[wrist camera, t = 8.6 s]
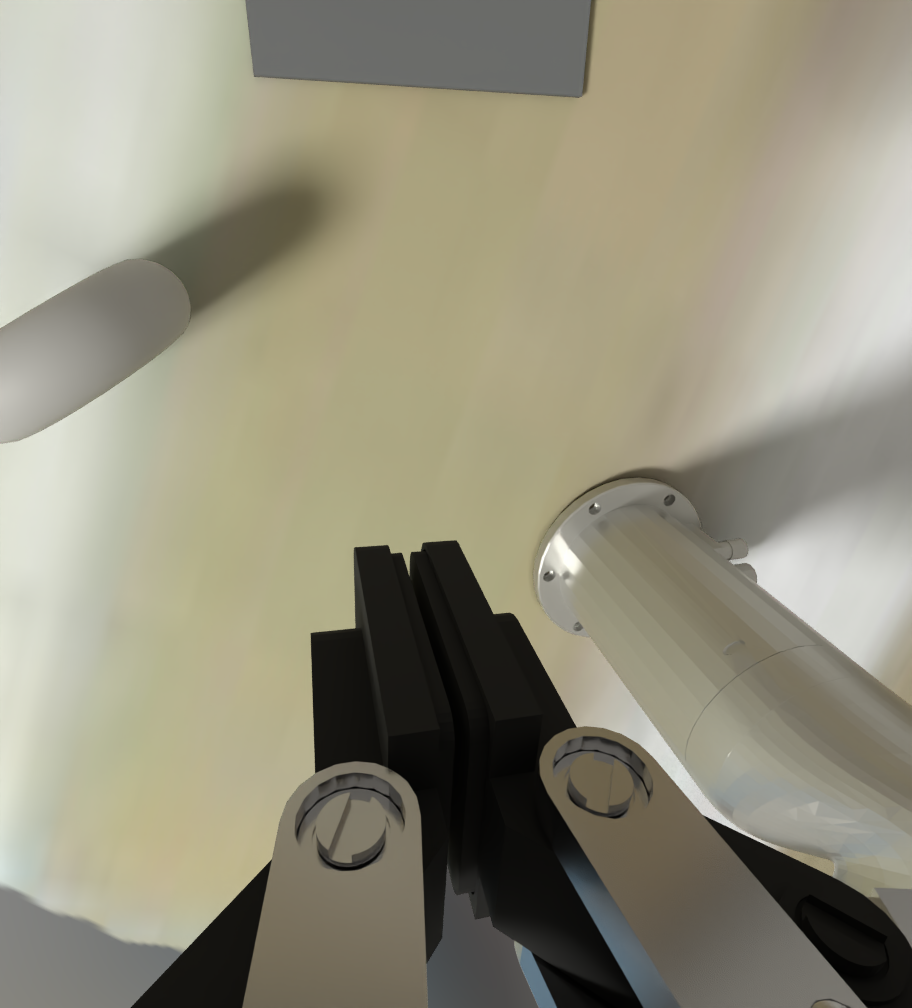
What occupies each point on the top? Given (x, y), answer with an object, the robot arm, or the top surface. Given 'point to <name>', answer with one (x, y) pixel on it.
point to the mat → (425, 43)
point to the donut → (86, 343)
